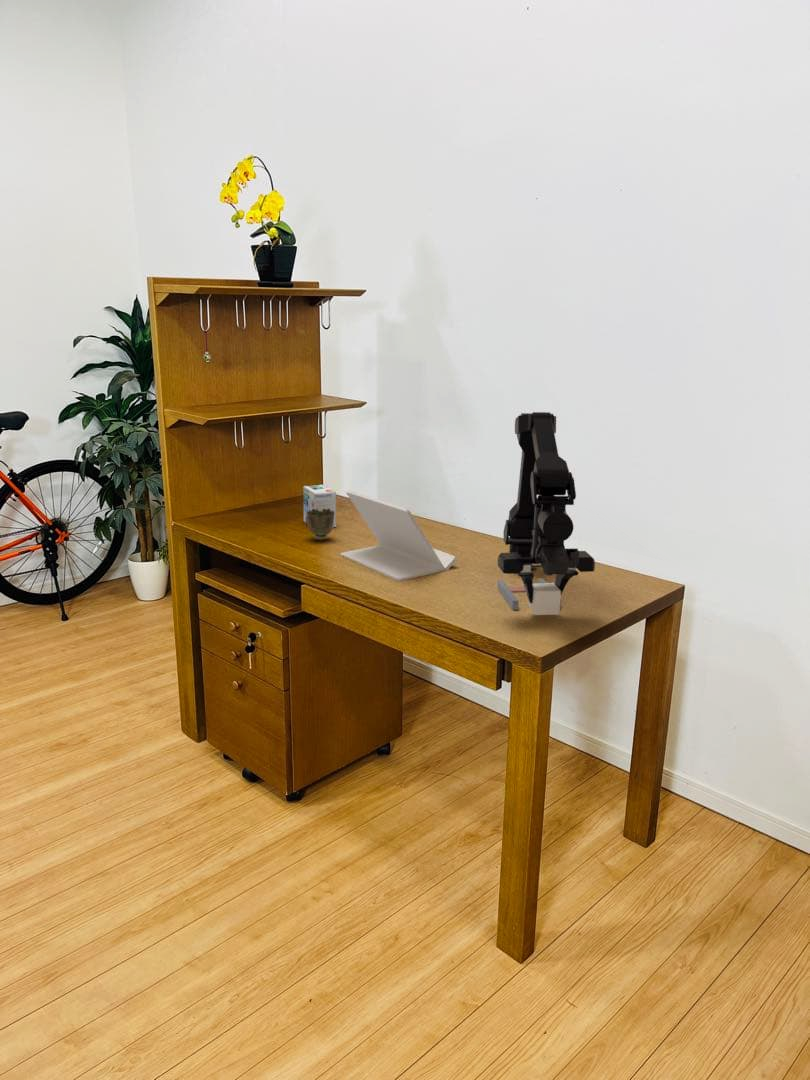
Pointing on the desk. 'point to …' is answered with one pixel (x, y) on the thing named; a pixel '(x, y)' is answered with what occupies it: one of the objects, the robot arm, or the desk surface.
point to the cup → (320, 523)
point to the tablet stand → (396, 542)
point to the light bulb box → (319, 500)
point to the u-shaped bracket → (509, 595)
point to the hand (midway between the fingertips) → (543, 602)
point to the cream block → (545, 599)
